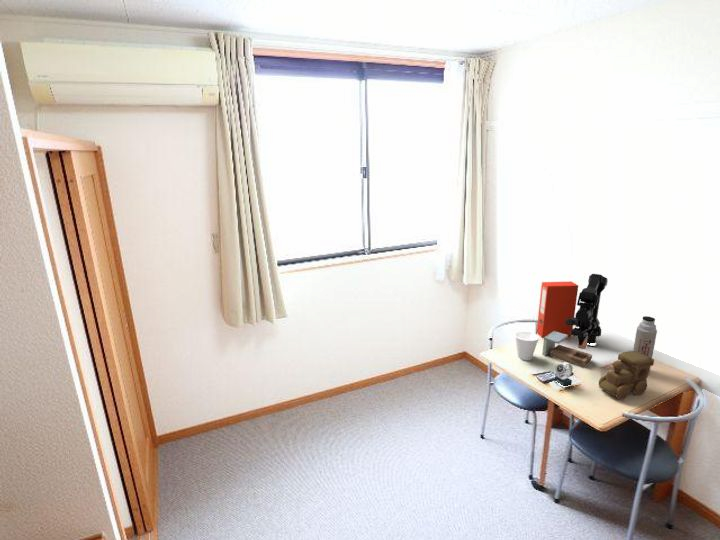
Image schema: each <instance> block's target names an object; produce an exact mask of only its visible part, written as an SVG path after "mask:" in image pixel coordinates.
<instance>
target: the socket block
mask: <svg viewBox="0 0 720 540" xmlns="http://www.w3.org/2000/svg"><path fill="white" fill-rule="evenodd" d="M549 357H550V358H554V359H556V360H559V361H563V362H567V363H569V364H571V365H575V366H577V367H581V368H583V369H584V368H585V367H587V365H589V364H590V363H591V362H592V361H591V359H593V354H591V353H587V352H584V351H582V350H578V349H574V348H571V347H569V346H565V345H562V344H557V345H555V348H553V349H552V350H551V352H549ZM590 361H591V362H590Z"/></svg>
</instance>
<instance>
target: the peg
mask: <svg viewBox="0 0 720 540" xmlns="http://www.w3.org/2000/svg"><path fill="white" fill-rule="evenodd" d="M586 334H588V333H587V332H586ZM587 337H588V335H587ZM587 337H586V339H585V340H584V342H583V344H582V345H579V342H578V341H577V345H576V346H577V348H578V349H581V350H586V349H587Z"/></svg>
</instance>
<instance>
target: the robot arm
mask: <svg viewBox="0 0 720 540" xmlns="http://www.w3.org/2000/svg"><path fill="white" fill-rule="evenodd" d="M587 283H588V284H587V287H585V288H583V289H582V290H581V291H579V293H578V294H579V295H578V299H577V301H576V306H577V307H579V308H578V310H577V312H575V315H574V317H571V318H568V319H566V322H565V323H566V324H567V326H570V325H573V326H575V327H573V329H572V330H571V332H570V334H571V335H572V336H575V337H577V343H578V342H579V345H582V344H583V342H584V340H585V339H586V337H587V335H588V337H587V343H589V344H590V343H595V342H596V343H597V338H599V337H601V336H602V328H601V326H600V324H601V323H600V321H599V318H598V314H599V310H600V309H599V308H600V304H601V303H600V302H601V295H602V292H603V291H604V290H605V289H606V287H608V277H606V276H603V274H598V273H591V274H590V275H589V276H588V281H587ZM586 332H587V333H588V334H586Z"/></svg>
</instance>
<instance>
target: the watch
mask: <svg viewBox="0 0 720 540" xmlns="http://www.w3.org/2000/svg"><path fill="white" fill-rule="evenodd" d="M567 367H568V368H567ZM573 369H574V367H573V364H571V363H568V362H565V361H563V362H560V363H557V364H556V365H555V368H554V371H555V375H556V376H554V382H555V381H557V382H558V383H560V384H561V385H563V386H568V385H571V386H572V381H573V380H572V379H571V378H570V376H571V375H572V373H573Z"/></svg>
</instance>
